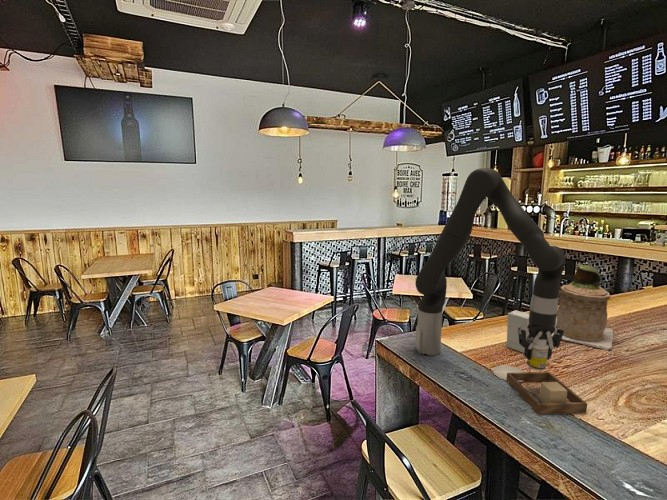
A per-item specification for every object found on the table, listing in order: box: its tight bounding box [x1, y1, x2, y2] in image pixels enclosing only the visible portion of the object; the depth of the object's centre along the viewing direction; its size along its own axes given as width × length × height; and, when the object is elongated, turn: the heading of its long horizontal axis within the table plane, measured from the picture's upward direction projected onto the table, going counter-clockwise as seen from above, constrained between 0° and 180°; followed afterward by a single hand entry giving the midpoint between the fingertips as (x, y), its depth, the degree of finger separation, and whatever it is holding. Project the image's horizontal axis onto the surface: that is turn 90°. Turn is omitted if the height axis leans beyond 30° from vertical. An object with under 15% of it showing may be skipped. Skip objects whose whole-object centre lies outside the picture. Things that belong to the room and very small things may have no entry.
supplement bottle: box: [526, 339, 549, 372], centre depth 122 cm, size 6×6×10 cm
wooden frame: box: [506, 371, 588, 415], centre depth 119 cm, size 15×19×3 cm
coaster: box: [492, 364, 525, 384], centre depth 133 cm, size 11×11×1 cm
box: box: [538, 381, 567, 403], centre depth 115 cm, size 5×5×6 cm
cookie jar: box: [551, 263, 614, 352], centre depth 163 cm, size 25×25×32 cm
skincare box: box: [506, 310, 533, 354], centre depth 152 cm, size 8×6×15 cm
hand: (537, 358), depth 123 cm, fingers closed on supplement bottle, 5 cm apart
